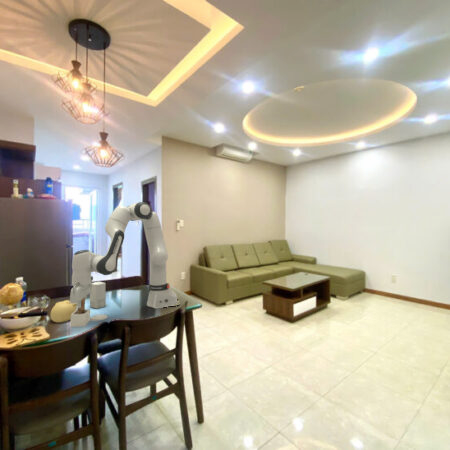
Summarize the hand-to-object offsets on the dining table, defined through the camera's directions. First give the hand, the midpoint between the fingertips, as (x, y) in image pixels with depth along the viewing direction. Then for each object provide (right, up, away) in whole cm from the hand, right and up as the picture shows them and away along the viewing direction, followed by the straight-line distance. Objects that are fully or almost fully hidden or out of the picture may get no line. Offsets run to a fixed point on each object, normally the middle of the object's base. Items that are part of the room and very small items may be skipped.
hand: (81, 306), depth 130 cm
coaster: (+5, -10, +9) cm, 14 cm away
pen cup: (0, -10, 0) cm, 10 cm away
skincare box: (-6, -10, +28) cm, 30 cm away
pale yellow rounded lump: (-13, -10, +5) cm, 17 cm away
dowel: (0, -9, 0) cm, 9 cm away
